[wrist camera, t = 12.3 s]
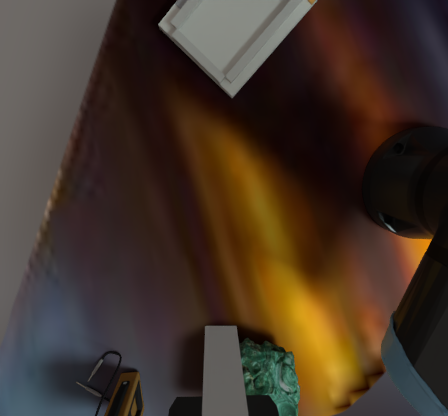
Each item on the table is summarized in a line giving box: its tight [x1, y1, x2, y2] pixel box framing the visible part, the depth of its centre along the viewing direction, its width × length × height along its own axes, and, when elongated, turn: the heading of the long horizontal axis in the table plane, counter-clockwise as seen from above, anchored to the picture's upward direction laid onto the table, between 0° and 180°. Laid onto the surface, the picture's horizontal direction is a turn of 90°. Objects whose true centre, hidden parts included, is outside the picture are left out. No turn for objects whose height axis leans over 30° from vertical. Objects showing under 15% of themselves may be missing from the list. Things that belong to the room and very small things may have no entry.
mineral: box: [239, 338, 300, 416], centre depth 43 cm, size 18×16×10 cm
